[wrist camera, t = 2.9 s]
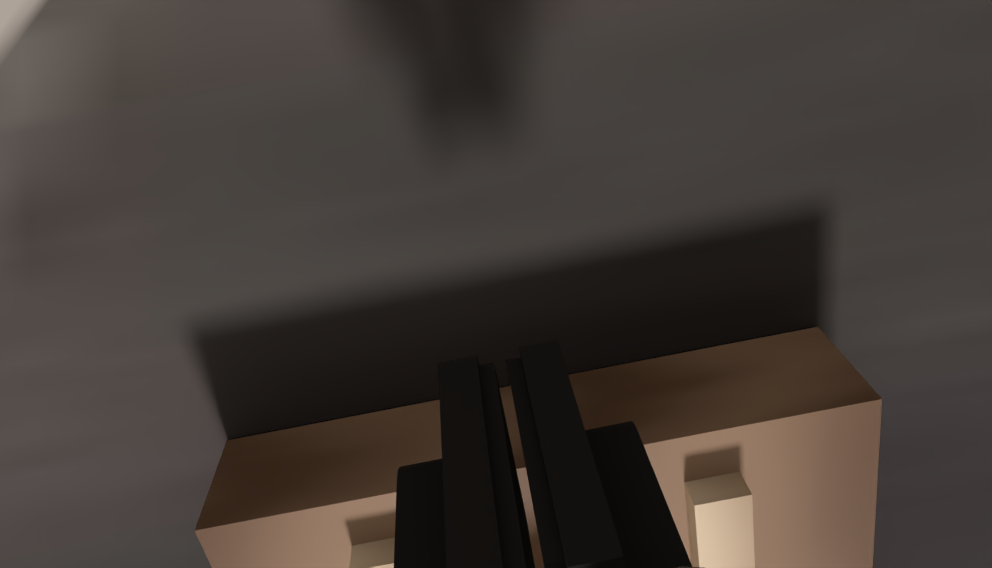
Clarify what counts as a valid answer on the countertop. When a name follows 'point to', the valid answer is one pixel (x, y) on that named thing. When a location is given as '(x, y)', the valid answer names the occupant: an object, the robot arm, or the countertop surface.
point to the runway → (602, 402)
